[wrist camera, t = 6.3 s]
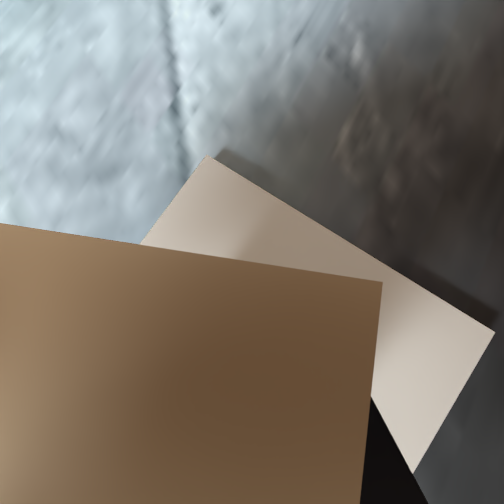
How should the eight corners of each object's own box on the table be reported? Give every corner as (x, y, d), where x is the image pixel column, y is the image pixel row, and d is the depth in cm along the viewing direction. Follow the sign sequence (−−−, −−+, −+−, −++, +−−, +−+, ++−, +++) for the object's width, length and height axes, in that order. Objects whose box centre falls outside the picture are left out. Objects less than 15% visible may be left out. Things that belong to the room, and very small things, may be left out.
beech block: (296, 473, 14) (315, 928, 3) (159, 442, 14) (-227, 725, 4) (316, 328, 15) (382, 282, 4) (187, 305, 15) (-47, 215, 5)
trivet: (292, 660, 14) (292, 678, 13) (21, 416, 17) (7, 419, 16) (485, 332, 16) (495, 332, 15) (210, 162, 19) (206, 154, 18)
